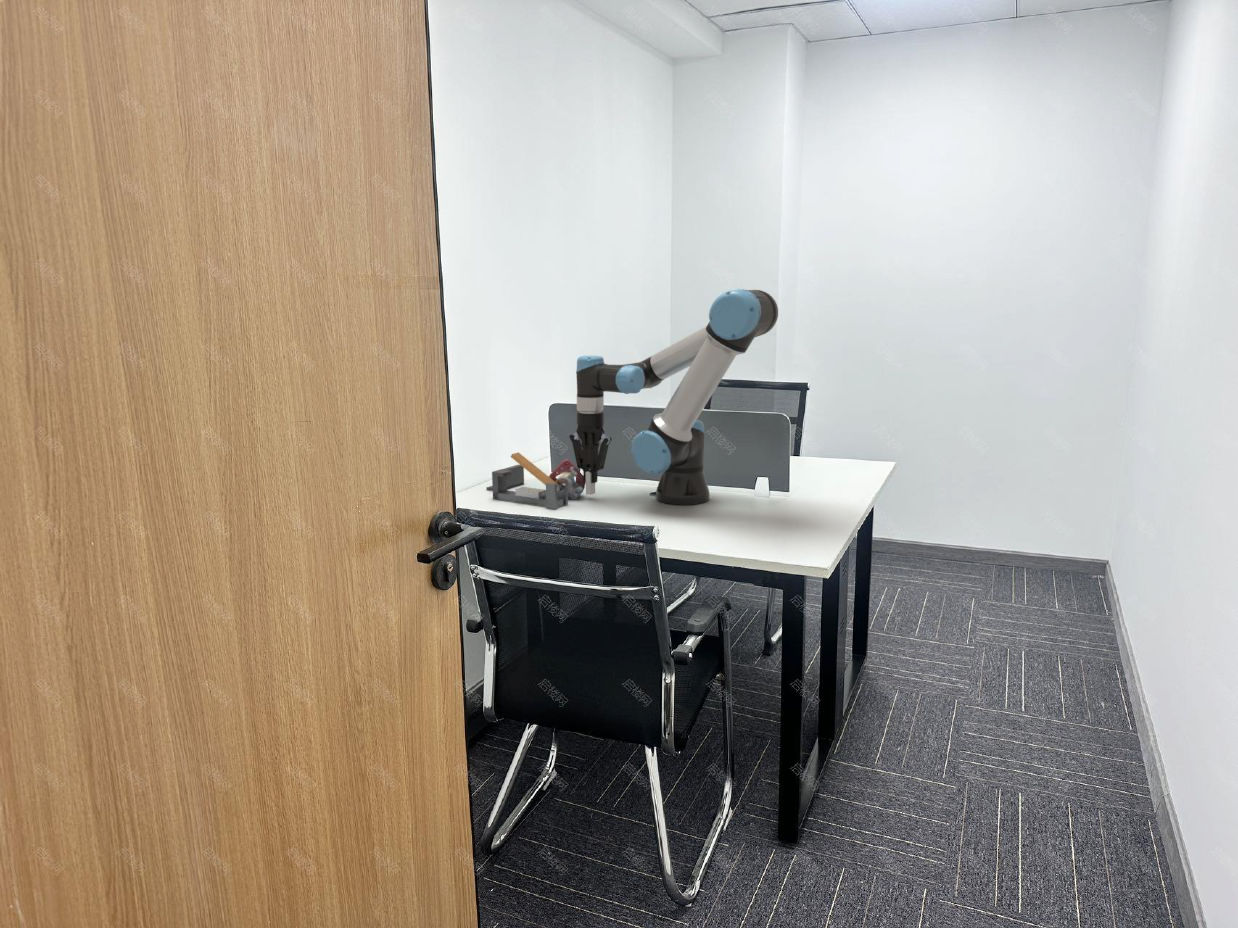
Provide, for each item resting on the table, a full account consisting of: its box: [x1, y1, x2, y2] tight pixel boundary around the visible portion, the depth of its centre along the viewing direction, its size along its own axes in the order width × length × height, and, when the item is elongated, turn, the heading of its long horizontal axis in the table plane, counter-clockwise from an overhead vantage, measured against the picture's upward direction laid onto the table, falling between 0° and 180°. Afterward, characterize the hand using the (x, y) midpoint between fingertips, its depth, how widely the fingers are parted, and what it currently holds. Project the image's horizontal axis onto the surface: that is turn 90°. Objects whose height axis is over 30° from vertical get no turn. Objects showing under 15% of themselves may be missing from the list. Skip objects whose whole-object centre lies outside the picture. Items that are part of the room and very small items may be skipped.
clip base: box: [491, 468, 569, 510], centre depth 236 cm, size 22×6×8 cm, turn 59°
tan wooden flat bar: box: [510, 452, 562, 491], centre depth 233 cm, size 17×3×1 cm
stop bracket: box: [485, 464, 525, 492], centre depth 255 cm, size 5×12×6 cm, turn 149°
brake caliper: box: [548, 458, 586, 500], centre depth 241 cm, size 11×11×12 cm
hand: (590, 493), depth 240 cm, fingers closed
